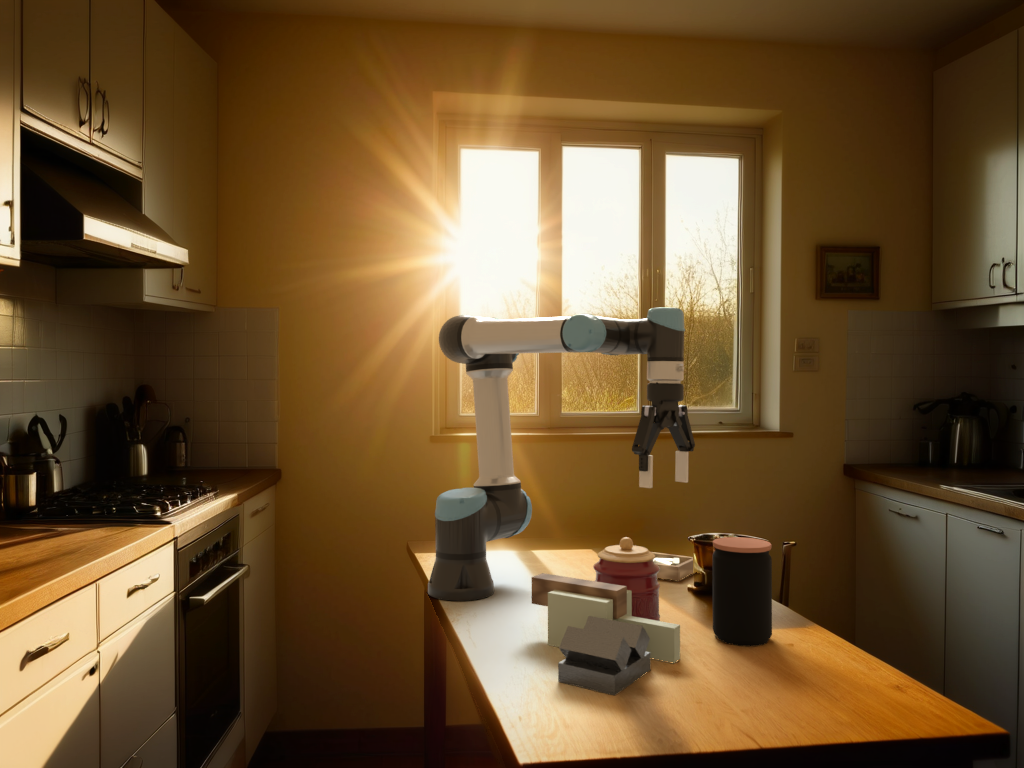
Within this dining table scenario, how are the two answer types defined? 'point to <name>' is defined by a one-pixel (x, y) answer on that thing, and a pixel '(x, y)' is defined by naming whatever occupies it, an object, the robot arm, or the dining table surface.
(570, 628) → the v block
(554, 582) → the bar
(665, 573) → the tray
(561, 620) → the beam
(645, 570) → the canister
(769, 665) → the dining table surface
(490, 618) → the dining table surface
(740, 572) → the coffee jar
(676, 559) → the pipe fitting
